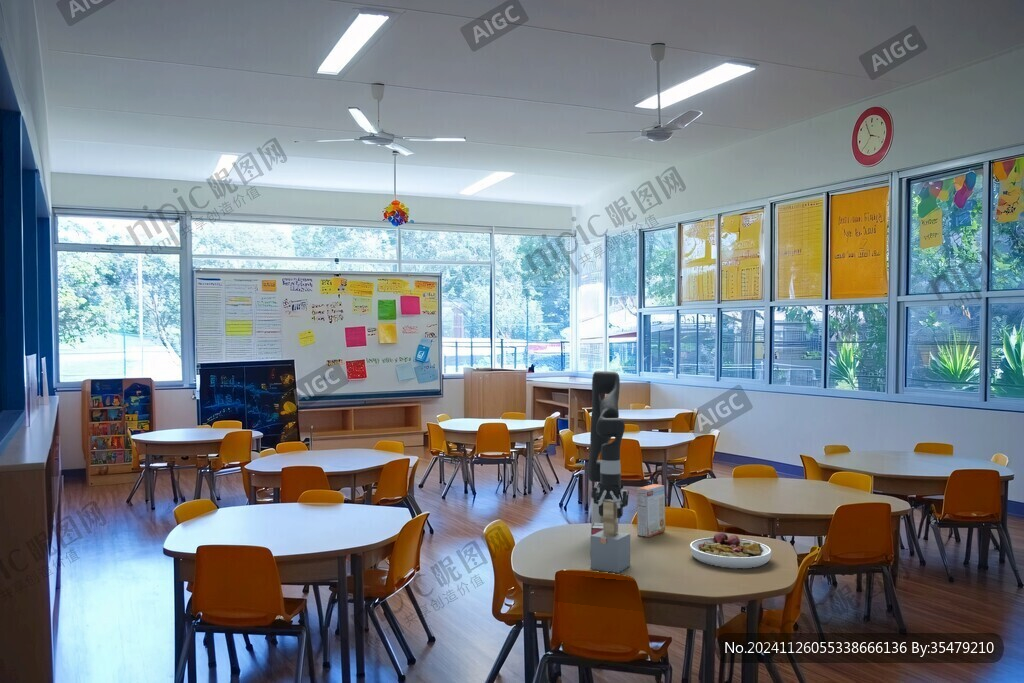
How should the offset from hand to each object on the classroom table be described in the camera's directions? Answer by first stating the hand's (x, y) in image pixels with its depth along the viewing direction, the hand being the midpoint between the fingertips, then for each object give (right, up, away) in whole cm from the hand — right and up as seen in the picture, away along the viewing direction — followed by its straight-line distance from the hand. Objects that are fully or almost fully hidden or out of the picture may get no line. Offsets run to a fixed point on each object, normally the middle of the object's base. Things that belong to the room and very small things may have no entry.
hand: (610, 516), depth 278 cm
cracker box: (+25, -20, +51) cm, 60 cm away
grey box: (0, -19, 0) cm, 19 cm away
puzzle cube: (+1, -19, +23) cm, 30 cm away
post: (0, -19, 0) cm, 19 cm away
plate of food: (+48, -19, +11) cm, 52 cm away
